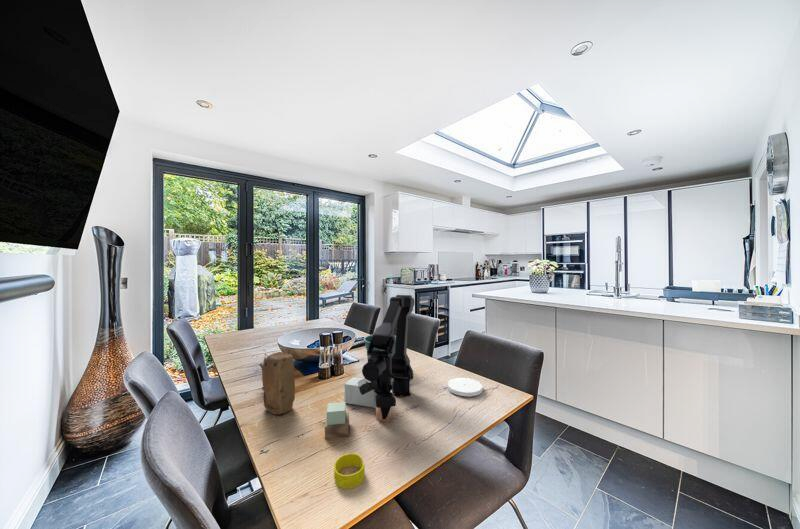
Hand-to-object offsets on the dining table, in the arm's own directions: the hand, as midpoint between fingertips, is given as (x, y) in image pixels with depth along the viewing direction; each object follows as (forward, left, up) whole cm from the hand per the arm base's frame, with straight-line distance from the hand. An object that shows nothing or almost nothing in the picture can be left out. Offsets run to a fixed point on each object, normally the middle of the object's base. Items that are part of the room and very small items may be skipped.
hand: (383, 414), depth 99 cm
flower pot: (-3, -41, -1) cm, 41 cm away
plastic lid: (-35, -15, -2) cm, 38 cm away
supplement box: (+12, -16, +3) cm, 20 cm away
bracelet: (+11, +25, -2) cm, 27 cm away
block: (+37, -12, -1) cm, 39 cm away
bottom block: (+15, +5, -1) cm, 16 cm away
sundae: (+46, -32, -1) cm, 56 cm away
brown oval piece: (0, 0, -1) cm, 1 cm away
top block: (+15, +5, +3) cm, 16 cm away
